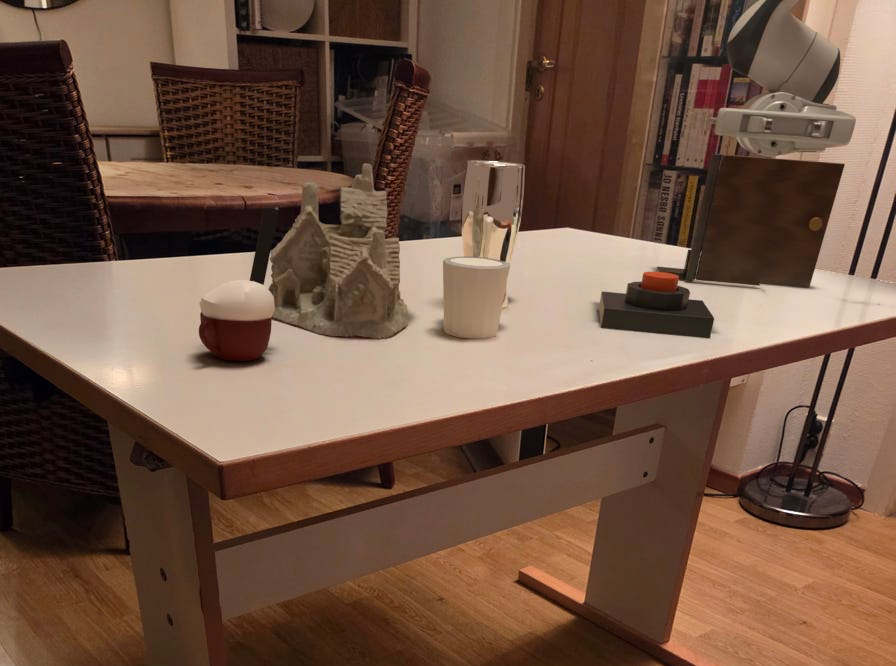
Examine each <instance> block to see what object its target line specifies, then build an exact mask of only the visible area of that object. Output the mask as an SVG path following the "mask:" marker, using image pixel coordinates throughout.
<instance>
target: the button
mask: <svg viewBox="0 0 896 666" xmlns="http://www.w3.org/2000/svg"><path fill="white" fill-rule="evenodd" d="M679 281H680V280H679V276H678V275H675V274H671V273H665V272H656V271H644V272H643V273H642V277H641V282H642V283H641V288H644V289H648V290H654V291H663V292H676V290H677V285H678V284H679ZM678 286H679V285H678Z"/></svg>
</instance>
